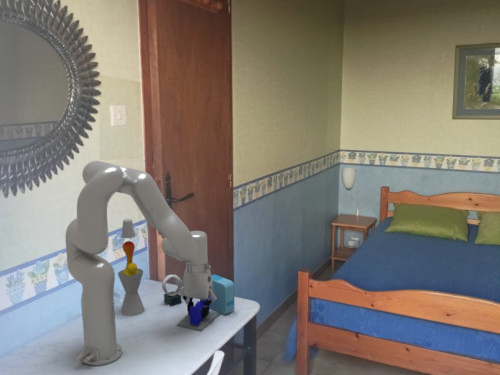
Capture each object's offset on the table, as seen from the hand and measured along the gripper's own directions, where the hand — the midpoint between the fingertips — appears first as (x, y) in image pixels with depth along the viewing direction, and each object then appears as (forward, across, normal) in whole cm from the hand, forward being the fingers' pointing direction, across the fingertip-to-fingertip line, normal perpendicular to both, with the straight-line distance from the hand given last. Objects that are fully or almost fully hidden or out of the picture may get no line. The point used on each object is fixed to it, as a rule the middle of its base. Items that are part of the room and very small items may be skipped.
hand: (198, 314), depth 179 cm
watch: (+2, +16, -10) cm, 19 cm away
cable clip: (+1, 0, 0) cm, 1 cm away
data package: (+2, -3, -11) cm, 12 cm away
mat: (+2, 0, 0) cm, 2 cm away
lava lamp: (+2, +26, +2) cm, 27 cm away
